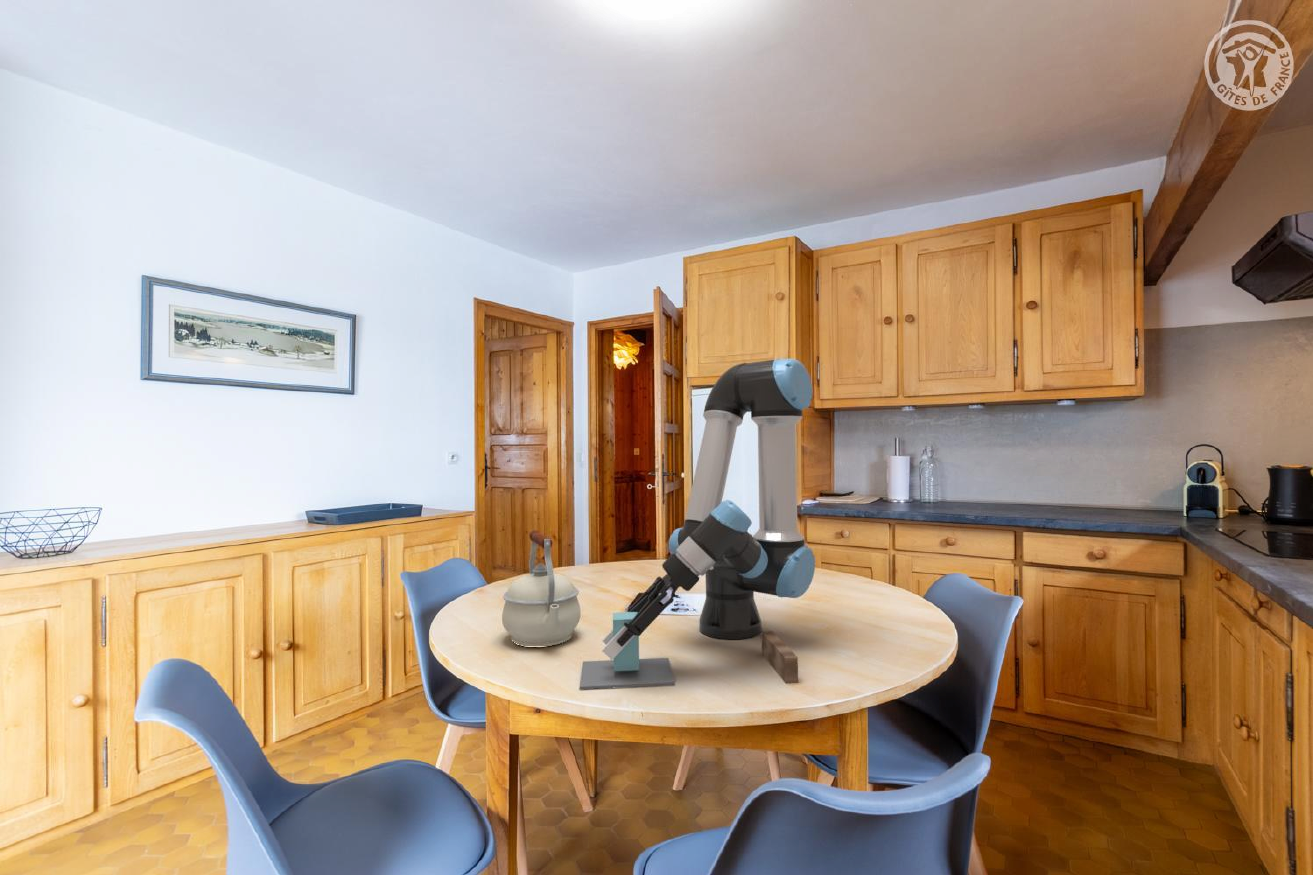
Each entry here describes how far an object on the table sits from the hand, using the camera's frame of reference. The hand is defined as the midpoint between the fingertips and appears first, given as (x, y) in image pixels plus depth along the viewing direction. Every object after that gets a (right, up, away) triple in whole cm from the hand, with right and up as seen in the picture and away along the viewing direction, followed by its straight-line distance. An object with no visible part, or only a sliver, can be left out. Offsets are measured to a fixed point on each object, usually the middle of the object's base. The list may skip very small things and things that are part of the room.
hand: (607, 649), depth 119 cm
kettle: (-17, -6, +22) cm, 28 cm away
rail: (+35, -5, +3) cm, 35 cm away
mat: (+4, -5, 0) cm, 6 cm away
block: (+4, -3, 0) cm, 5 cm away
